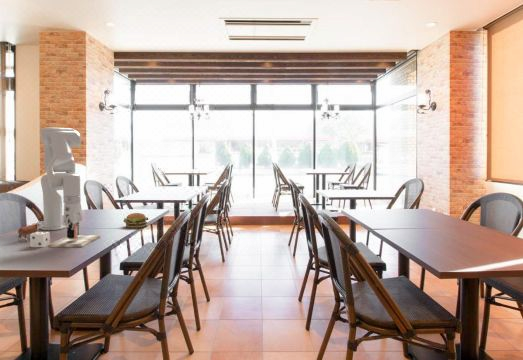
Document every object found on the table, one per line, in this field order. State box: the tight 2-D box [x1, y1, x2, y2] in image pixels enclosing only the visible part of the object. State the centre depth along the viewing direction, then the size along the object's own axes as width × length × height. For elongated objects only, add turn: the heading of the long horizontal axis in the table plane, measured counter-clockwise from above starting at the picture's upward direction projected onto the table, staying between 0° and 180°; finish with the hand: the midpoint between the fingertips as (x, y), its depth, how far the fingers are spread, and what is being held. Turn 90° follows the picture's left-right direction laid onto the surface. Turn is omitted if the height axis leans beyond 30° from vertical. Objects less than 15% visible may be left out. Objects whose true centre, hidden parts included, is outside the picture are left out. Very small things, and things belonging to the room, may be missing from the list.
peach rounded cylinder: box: [69, 223, 78, 239], centre depth 196 cm, size 4×4×8 cm
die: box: [29, 231, 51, 248], centre depth 190 cm, size 6×6×6 cm
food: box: [122, 212, 149, 229], centre depth 240 cm, size 14×14×8 cm
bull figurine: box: [17, 221, 43, 242], centre depth 203 cm, size 4×13×8 cm, turn 161°
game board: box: [47, 234, 101, 248], centre depth 198 cm, size 16×21×1 cm
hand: (73, 236), depth 196 cm, fingers closed on peach rounded cylinder, 4 cm apart
